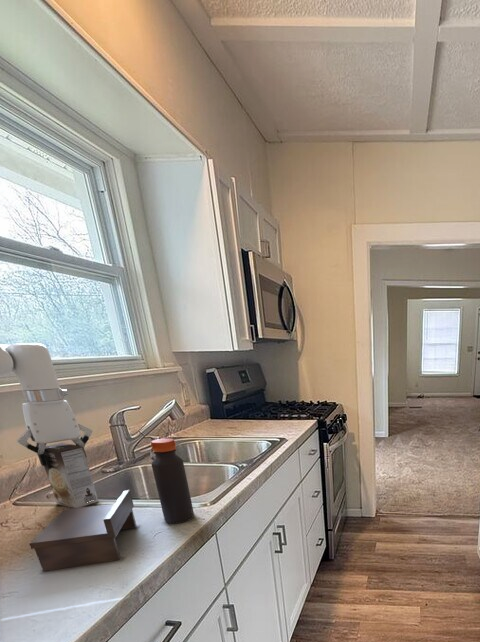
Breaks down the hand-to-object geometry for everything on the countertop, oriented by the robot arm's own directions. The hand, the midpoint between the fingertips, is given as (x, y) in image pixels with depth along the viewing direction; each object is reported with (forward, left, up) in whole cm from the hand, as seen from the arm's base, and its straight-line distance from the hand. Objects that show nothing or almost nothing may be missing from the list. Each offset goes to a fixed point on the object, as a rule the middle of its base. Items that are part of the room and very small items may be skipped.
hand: (65, 464), depth 108 cm
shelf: (+12, -32, -11) cm, 36 cm away
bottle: (+28, -22, -11) cm, 37 cm away
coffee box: (0, 0, -11) cm, 11 cm away
